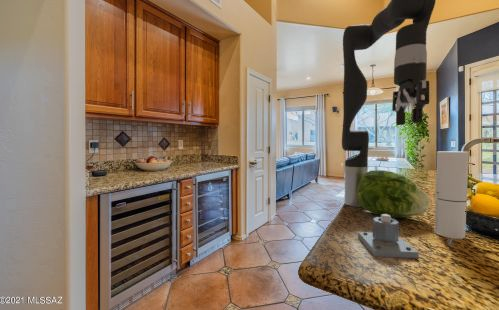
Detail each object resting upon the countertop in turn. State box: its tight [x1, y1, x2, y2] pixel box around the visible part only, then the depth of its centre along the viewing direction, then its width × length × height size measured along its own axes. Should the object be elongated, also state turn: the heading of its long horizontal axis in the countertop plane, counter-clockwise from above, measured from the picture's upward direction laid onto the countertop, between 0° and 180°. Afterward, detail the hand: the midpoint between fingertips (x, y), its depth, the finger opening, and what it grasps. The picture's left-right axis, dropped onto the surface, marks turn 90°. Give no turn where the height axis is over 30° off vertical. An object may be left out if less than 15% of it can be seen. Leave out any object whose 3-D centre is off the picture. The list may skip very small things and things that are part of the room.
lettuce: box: [357, 169, 430, 219], centre depth 90 cm, size 17×23×17 cm
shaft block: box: [357, 214, 419, 259], centre depth 64 cm, size 12×10×8 cm
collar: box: [372, 216, 400, 243], centre depth 64 cm, size 6×6×5 cm
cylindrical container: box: [434, 150, 470, 240], centre depth 72 cm, size 7×7×25 cm
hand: (408, 123), depth 67 cm, fingers open, 8 cm apart
